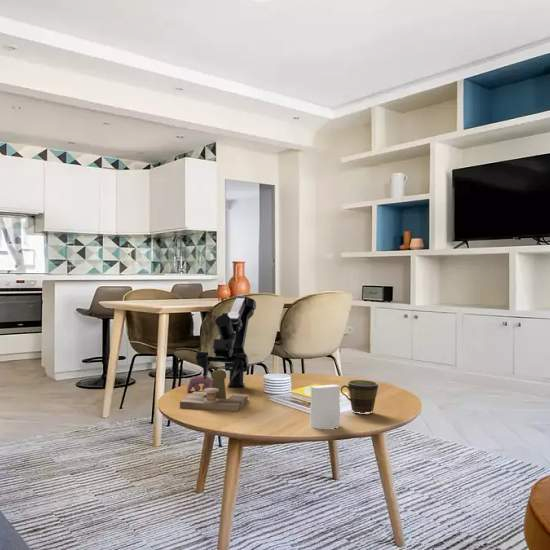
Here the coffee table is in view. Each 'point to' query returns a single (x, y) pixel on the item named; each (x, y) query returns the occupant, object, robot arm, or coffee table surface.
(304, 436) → the coffee table surface
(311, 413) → the upright rounded white block
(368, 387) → the ceramic cup
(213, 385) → the olive bulb shape
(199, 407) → the notched board
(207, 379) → the purple toy elephant
